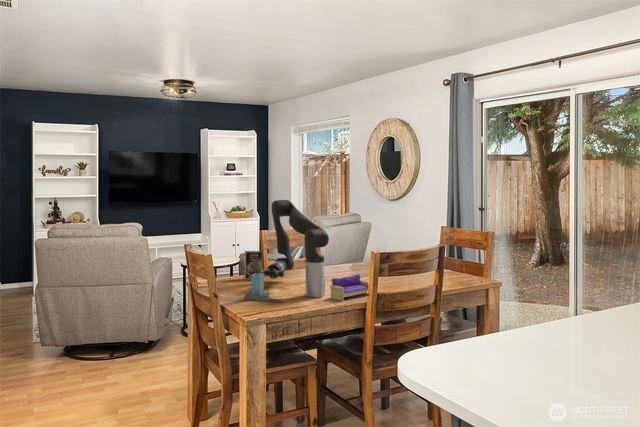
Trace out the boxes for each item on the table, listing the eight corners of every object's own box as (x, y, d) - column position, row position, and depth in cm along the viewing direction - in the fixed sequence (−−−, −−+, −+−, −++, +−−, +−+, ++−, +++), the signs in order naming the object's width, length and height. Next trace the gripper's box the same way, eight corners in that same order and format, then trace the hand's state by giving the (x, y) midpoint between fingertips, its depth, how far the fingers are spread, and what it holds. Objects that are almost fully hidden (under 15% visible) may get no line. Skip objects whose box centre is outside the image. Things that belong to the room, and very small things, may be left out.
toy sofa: (341, 301, 261) (342, 280, 260) (329, 298, 267) (329, 277, 267) (371, 295, 275) (371, 275, 274) (358, 292, 281) (359, 272, 281)
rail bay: (288, 298, 265) (288, 293, 265) (281, 303, 255) (281, 297, 255) (252, 295, 270) (252, 290, 270) (243, 300, 260) (243, 294, 260)
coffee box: (245, 280, 306) (245, 252, 304) (244, 278, 312) (244, 250, 310) (261, 280, 308) (262, 252, 307) (260, 278, 314) (260, 250, 313)
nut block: (263, 295, 266) (263, 273, 265) (260, 298, 262) (260, 275, 261) (254, 295, 267) (254, 272, 267) (251, 297, 263) (251, 274, 262)
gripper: (262, 262, 291) (252, 268, 275) (288, 263, 288) (279, 269, 272) (263, 276, 292) (252, 283, 276) (288, 277, 289) (279, 284, 273)
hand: (266, 276), depth 274 cm, fingers open, 8 cm apart
